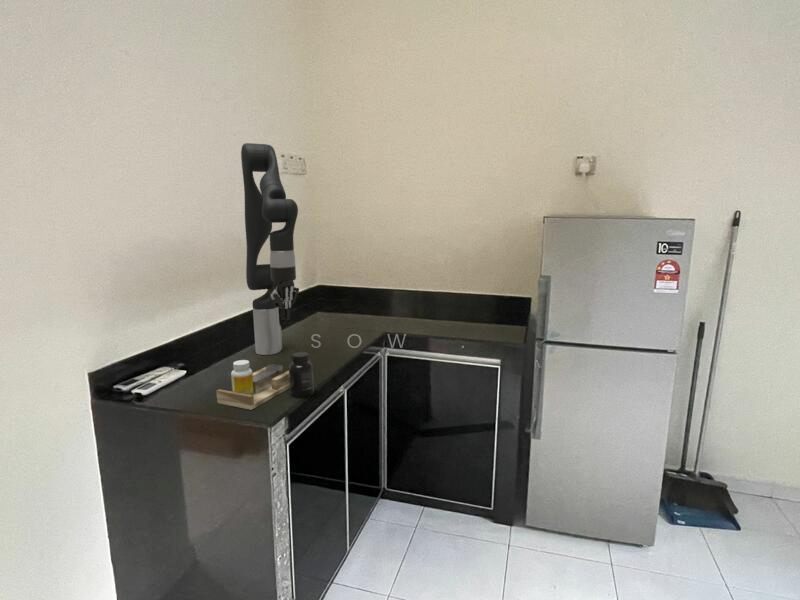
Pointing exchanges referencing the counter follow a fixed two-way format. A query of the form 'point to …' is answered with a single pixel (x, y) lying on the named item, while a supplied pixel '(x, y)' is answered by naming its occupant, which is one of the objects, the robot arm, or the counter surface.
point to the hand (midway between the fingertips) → (285, 319)
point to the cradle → (257, 399)
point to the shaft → (266, 377)
